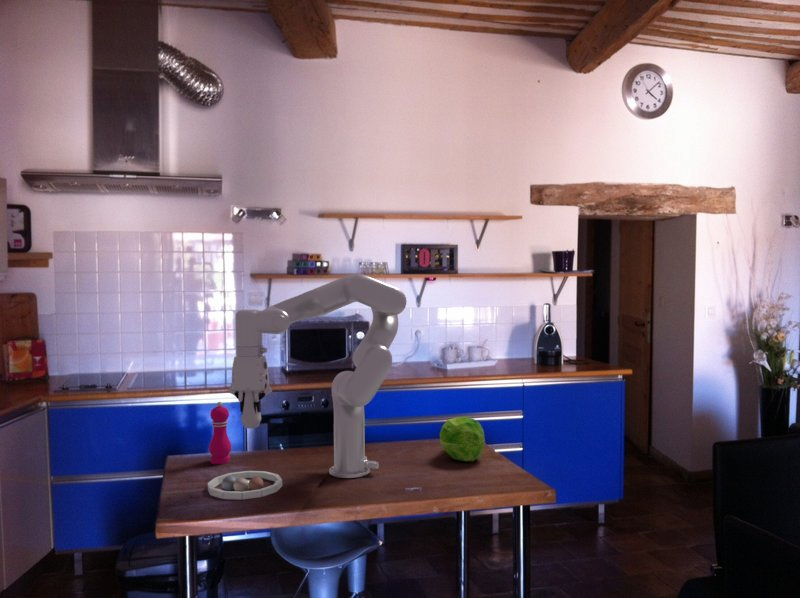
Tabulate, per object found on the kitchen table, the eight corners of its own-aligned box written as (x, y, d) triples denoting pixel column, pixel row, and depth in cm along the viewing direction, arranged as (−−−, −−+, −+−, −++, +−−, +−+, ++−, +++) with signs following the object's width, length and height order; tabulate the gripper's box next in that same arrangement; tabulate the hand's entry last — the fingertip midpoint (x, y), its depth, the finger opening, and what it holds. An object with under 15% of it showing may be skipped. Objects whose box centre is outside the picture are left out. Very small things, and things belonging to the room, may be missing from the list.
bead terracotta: (263, 494, 181) (267, 480, 184) (256, 489, 178) (261, 475, 181) (251, 492, 183) (256, 479, 185) (244, 487, 180) (249, 473, 182)
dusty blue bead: (236, 492, 183) (237, 478, 186) (235, 487, 180) (236, 473, 183) (222, 493, 183) (222, 479, 185) (220, 487, 179) (221, 474, 182)
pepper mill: (236, 460, 217) (235, 400, 216) (221, 465, 210) (221, 404, 210) (219, 457, 220) (218, 399, 219) (204, 463, 213) (203, 402, 213)
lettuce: (428, 457, 228) (470, 461, 231) (444, 460, 207) (490, 464, 209) (432, 415, 231) (473, 419, 234) (447, 413, 210) (492, 417, 212)
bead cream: (247, 495, 180) (251, 482, 183) (244, 488, 178) (247, 475, 181) (233, 495, 181) (237, 482, 184) (230, 487, 178) (233, 474, 181)
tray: (289, 482, 193) (289, 472, 193) (268, 505, 173) (268, 493, 173) (224, 480, 195) (224, 470, 195) (196, 502, 175) (196, 491, 175)
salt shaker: (264, 424, 192) (263, 381, 192) (257, 429, 187) (256, 384, 186) (245, 424, 193) (244, 381, 193) (237, 428, 187) (237, 384, 187)
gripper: (280, 350, 192) (281, 412, 192) (227, 350, 194) (229, 411, 195) (272, 353, 184) (273, 417, 185) (217, 353, 187) (218, 416, 187)
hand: (250, 414), depth 190 cm, fingers closed on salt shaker, 3 cm apart
